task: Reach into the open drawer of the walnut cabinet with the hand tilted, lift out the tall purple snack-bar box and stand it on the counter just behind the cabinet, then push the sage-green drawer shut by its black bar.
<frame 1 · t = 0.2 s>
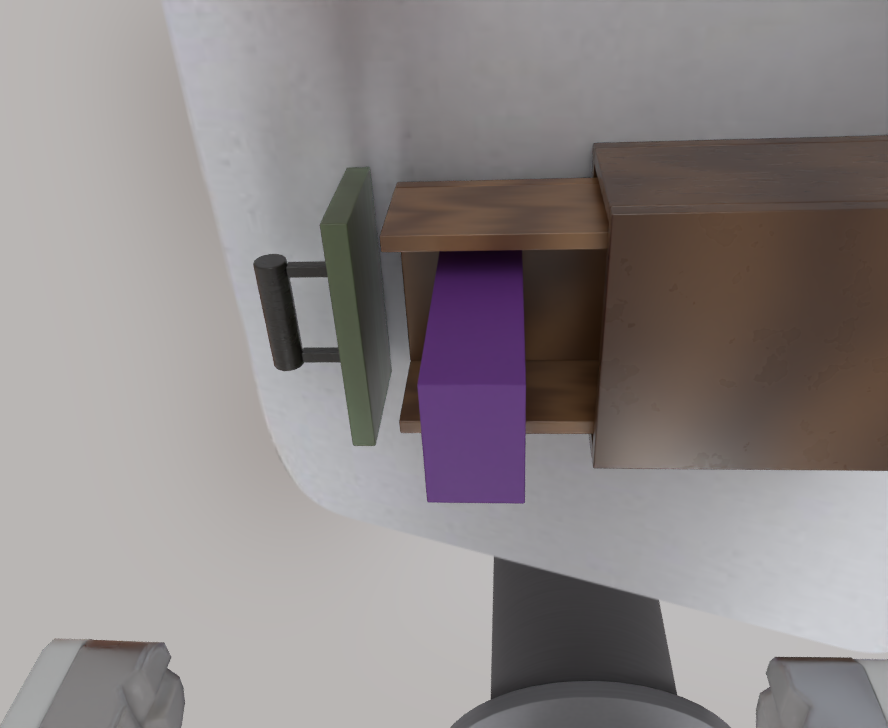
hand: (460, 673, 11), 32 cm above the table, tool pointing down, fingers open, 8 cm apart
drawer: (449, 308, 39), point 4 cm above the table, slide at 11.0 cm, touching snack box
snack box: (483, 285, 41), point 2 cm above the table, touching drawer
cabinet: (735, 264, 42), on the table
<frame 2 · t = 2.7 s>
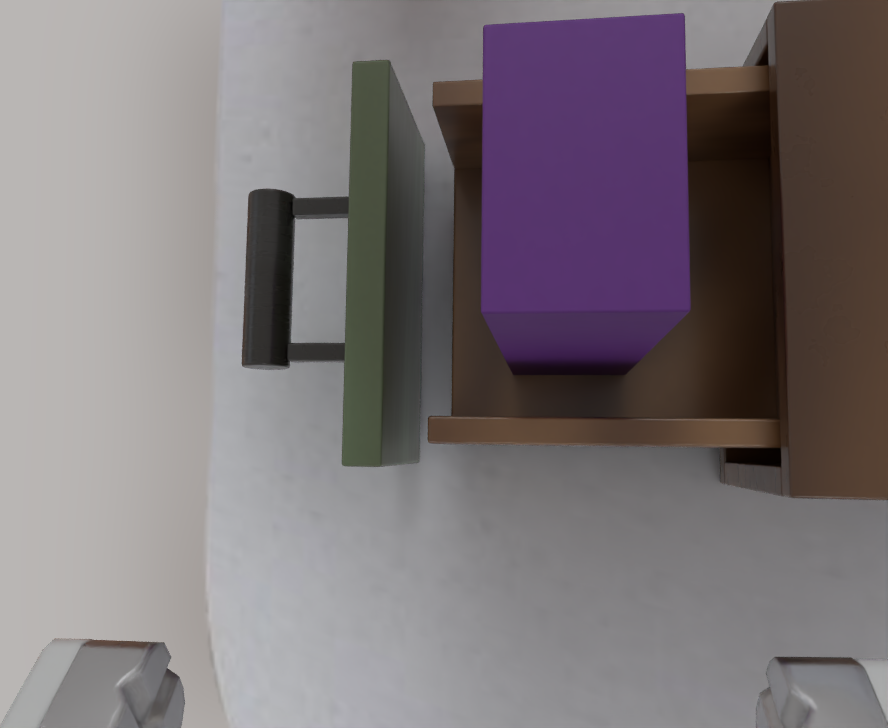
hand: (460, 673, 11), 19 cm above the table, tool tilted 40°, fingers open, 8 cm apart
drawer: (521, 279, 26), point 4 cm above the table, slide at 11.0 cm, touching snack box
snack box: (568, 292, 28), point 2 cm above the table, touching drawer
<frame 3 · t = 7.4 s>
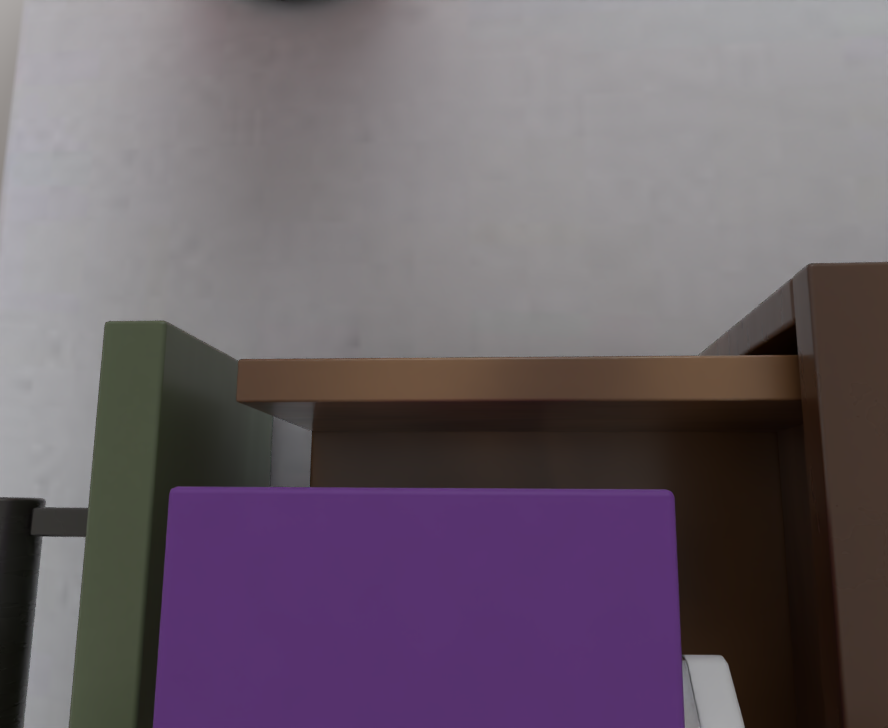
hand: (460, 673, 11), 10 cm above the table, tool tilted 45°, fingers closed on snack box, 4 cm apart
drawer: (398, 648, 16), point 4 cm above the table, slide at 11.0 cm, touching snack box
snack box: (480, 633, 18), point 2 cm above the table, touching drawer, gripper
when the fingers open (8 cm above the table, at t = 16.8 s): snack box stays where it is, on the table.
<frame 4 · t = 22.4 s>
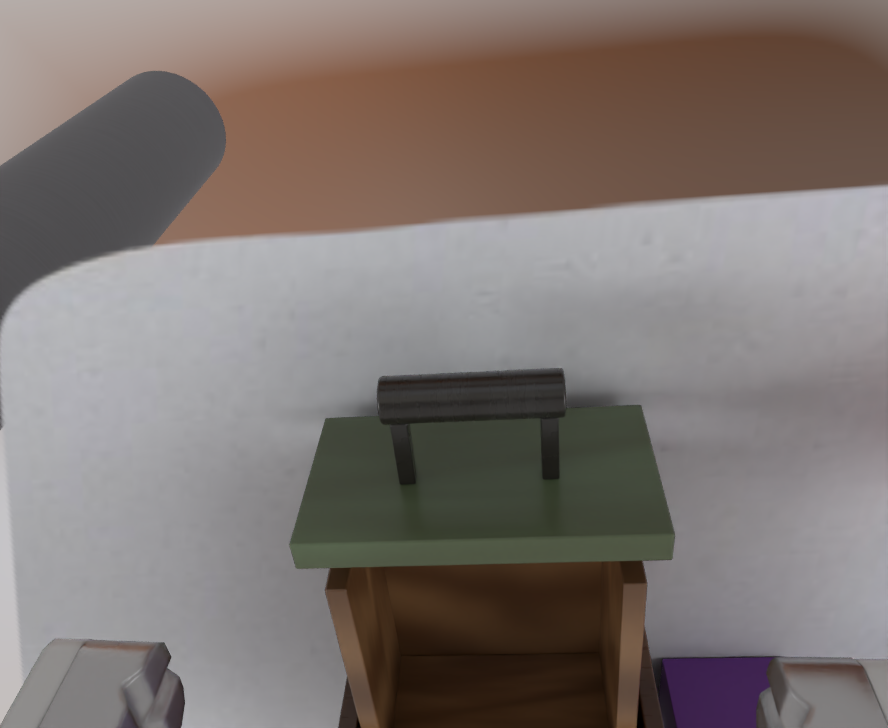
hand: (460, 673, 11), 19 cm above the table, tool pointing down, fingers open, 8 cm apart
drawer: (487, 567, 31), point 4 cm above the table, slide at 11.0 cm
snack box: (718, 681, 41), on the table
cabinet: (504, 694, 43), on the table
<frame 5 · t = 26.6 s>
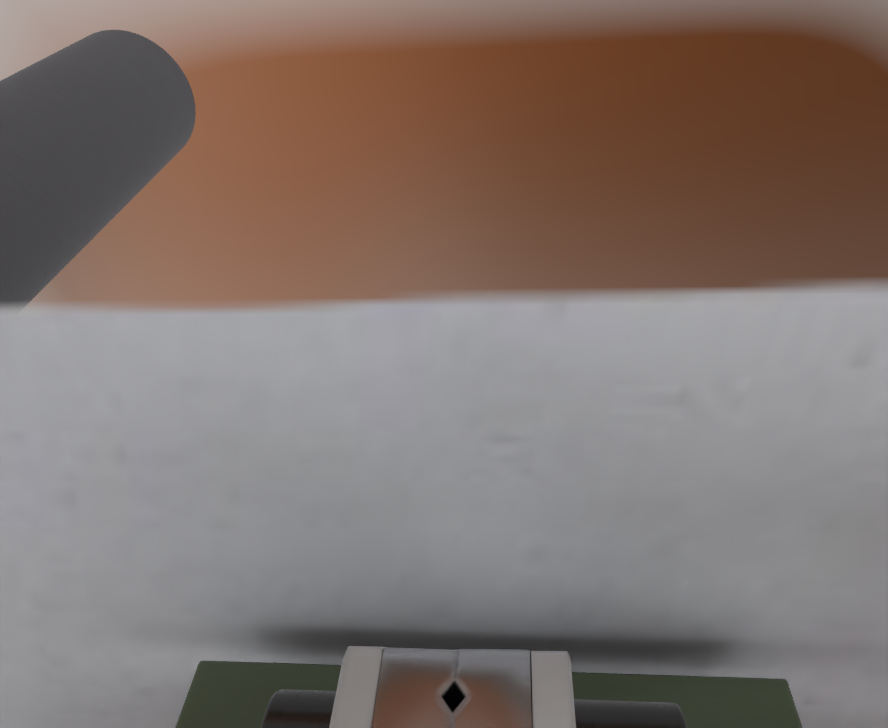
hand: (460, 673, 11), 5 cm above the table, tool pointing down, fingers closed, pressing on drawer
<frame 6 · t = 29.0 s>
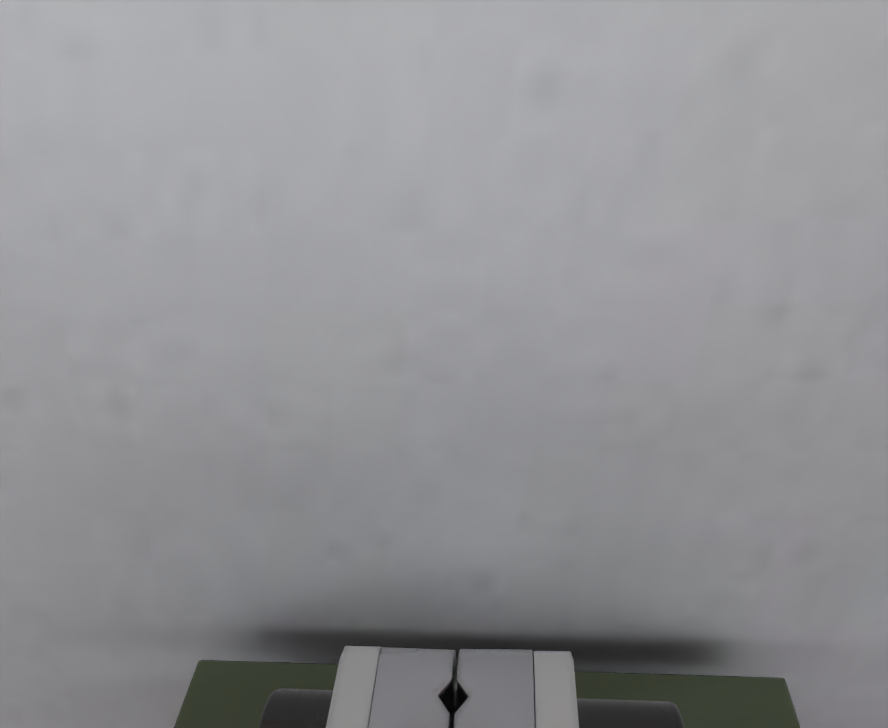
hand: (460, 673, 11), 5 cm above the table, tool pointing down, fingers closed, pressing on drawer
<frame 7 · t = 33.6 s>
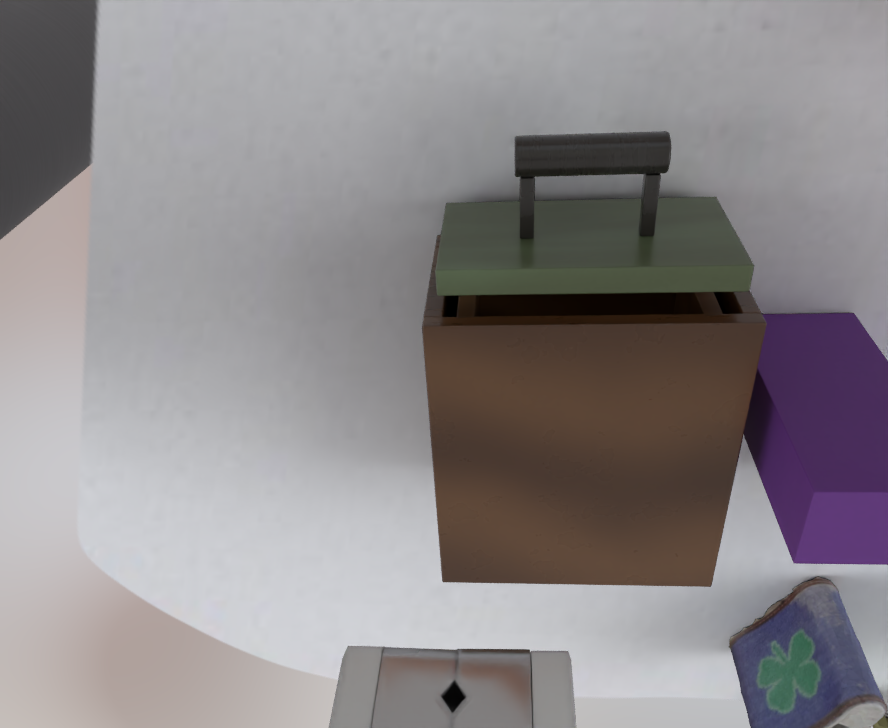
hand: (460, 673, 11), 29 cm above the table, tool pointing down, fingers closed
drawer: (579, 331, 36), point 4 cm above the table, slide at 0.9 cm
snack box: (785, 346, 41), on the table
flask: (779, 614, 54), on the table
cabinet: (569, 363, 43), on the table
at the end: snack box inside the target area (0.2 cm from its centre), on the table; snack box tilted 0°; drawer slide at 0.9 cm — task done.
